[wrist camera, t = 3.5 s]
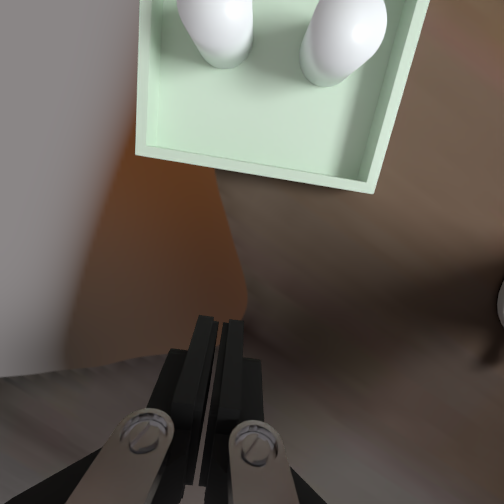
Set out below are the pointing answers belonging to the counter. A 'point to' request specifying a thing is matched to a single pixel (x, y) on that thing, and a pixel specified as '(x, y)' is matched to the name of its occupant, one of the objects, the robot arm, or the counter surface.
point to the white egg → (219, 29)
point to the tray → (271, 98)
